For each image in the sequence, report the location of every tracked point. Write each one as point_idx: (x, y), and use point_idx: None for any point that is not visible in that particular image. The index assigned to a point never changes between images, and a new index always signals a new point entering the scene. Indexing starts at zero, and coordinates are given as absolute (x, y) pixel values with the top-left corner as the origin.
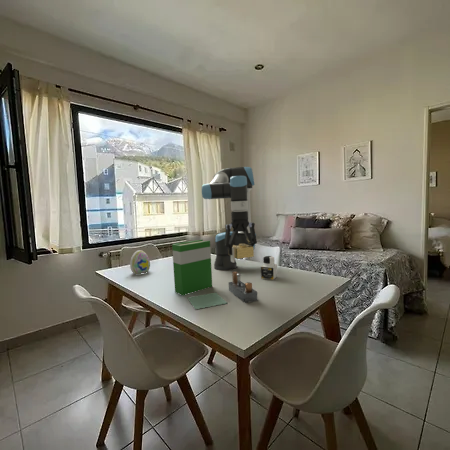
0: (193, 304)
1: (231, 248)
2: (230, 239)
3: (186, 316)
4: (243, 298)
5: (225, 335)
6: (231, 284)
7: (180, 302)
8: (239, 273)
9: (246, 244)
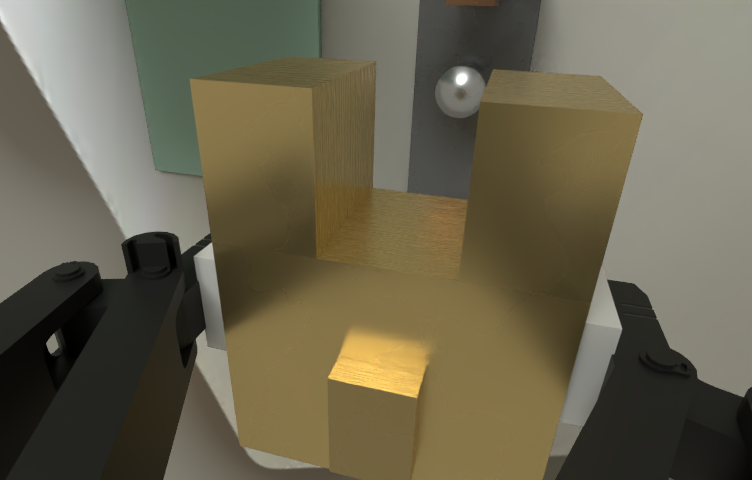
0: (149, 106)
1: (200, 321)
2: (82, 376)
3: (119, 208)
4: None
5: (230, 400)
6: (418, 27)
7: (86, 16)
8: (478, 76)
9: (586, 296)
